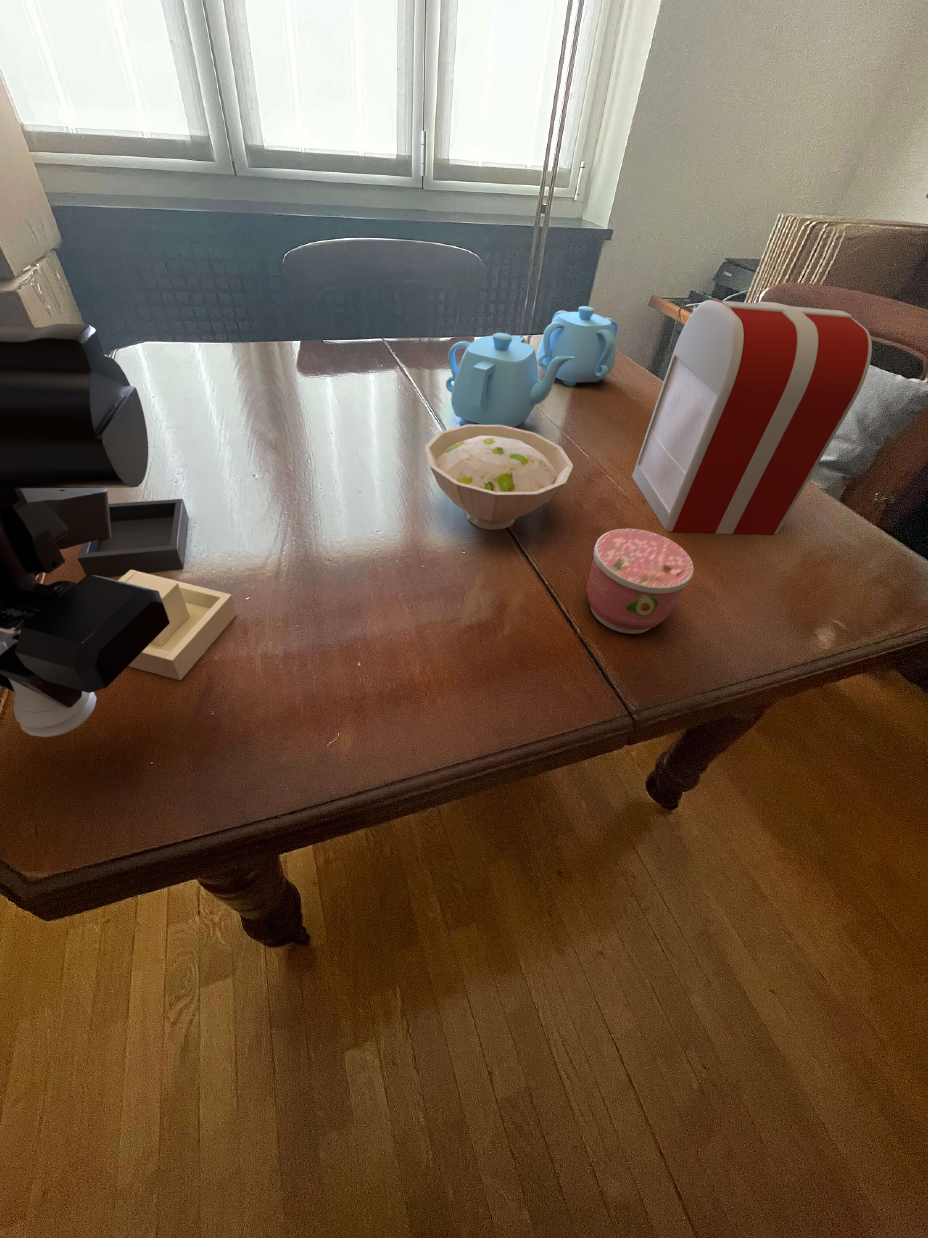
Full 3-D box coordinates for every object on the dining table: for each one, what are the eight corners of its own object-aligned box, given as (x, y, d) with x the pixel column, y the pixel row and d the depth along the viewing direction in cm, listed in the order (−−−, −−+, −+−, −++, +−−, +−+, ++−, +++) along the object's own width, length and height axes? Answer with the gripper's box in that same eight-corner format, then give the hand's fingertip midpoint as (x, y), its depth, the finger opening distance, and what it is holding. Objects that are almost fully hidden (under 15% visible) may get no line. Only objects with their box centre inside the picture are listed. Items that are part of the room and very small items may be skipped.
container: (560, 608, 63) (576, 552, 57) (607, 571, 69) (625, 517, 64) (641, 657, 58) (667, 601, 53) (683, 612, 64) (710, 558, 59)
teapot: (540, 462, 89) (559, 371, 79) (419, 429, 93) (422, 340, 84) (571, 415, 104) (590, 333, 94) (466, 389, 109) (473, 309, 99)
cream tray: (71, 650, 52) (58, 629, 50) (139, 589, 59) (130, 569, 57) (180, 680, 51) (172, 660, 49) (237, 614, 57) (231, 594, 56)
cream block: (120, 635, 53) (103, 601, 50) (150, 606, 56) (136, 572, 53) (161, 646, 52) (147, 612, 49) (190, 616, 56) (178, 582, 52)
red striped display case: (630, 474, 89) (692, 284, 70) (730, 478, 91) (816, 295, 72) (666, 532, 77) (752, 322, 58) (781, 535, 79) (899, 334, 61)
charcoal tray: (183, 569, 62) (176, 549, 60) (87, 578, 59) (77, 558, 57) (188, 517, 69) (183, 498, 67) (103, 524, 67) (94, 504, 65)
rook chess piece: (40, 688, 38) (-18, 604, 33) (108, 687, 39) (62, 604, 34) (9, 742, 35) (-62, 659, 30) (84, 740, 36) (28, 657, 30)
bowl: (456, 570, 66) (464, 498, 59) (400, 490, 78) (401, 423, 72) (586, 541, 73) (606, 474, 67) (516, 472, 86) (527, 409, 79)
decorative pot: (546, 358, 127) (558, 292, 118) (614, 372, 124) (631, 306, 115) (526, 379, 116) (537, 308, 107) (600, 396, 113) (618, 324, 103)
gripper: (193, 448, 30) (245, 645, 40) (-93, 384, 32) (28, 587, 43) (22, 566, 22) (144, 773, 32) (-343, 470, 24) (-117, 693, 35)
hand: (49, 694), depth 36 cm, fingers closed on rook chess piece, 3 cm apart
